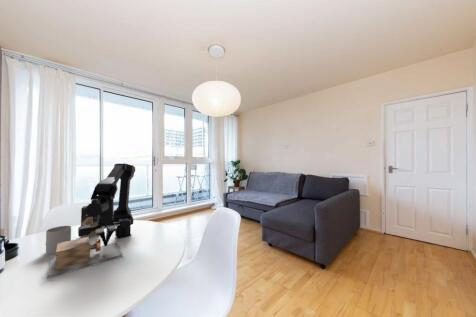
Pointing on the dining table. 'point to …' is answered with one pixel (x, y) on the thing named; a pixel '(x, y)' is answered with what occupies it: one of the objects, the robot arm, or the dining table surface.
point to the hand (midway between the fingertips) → (105, 245)
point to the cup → (56, 238)
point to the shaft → (96, 245)
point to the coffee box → (87, 222)
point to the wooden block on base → (80, 256)
